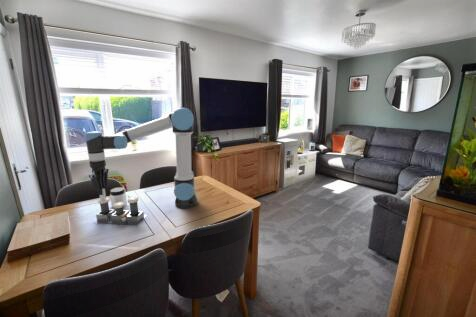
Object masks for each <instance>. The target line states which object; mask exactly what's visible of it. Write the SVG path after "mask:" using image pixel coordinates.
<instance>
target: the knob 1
mask: <svg viewBox="0 0 476 317" xmlns="http://www.w3.org/2000/svg"><path fill="white" fill-rule="evenodd" d="M109 202H110V198H109V197H106V199H105V200H100V198H99V199H98V200H97V204H99V205H100V211H101V212H102V214H108V213H109V212H110V211H109V209H110V207H109Z"/></svg>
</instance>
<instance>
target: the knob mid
mask: <svg viewBox="0 0 476 317" xmlns="http://www.w3.org/2000/svg"><path fill="white" fill-rule="evenodd" d="M113 206H114V207H113V209H114V210H115V212H116V215H121V214H122V213H124V210H125V209H124V207H126V206H125V205H124V203H123V202H118V203H115V204H114V205H113Z"/></svg>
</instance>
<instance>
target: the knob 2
mask: <svg viewBox="0 0 476 317" xmlns="http://www.w3.org/2000/svg"><path fill="white" fill-rule="evenodd" d="M138 202H139V197H138V196H132V197H129V198H127V203H129V212H131V215H137V214H138V211H139V205H138Z"/></svg>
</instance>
